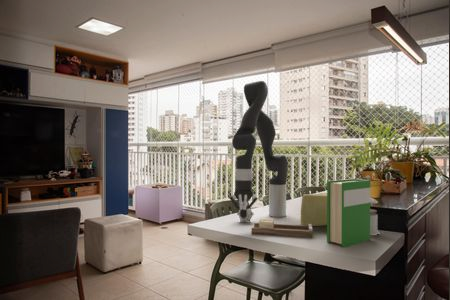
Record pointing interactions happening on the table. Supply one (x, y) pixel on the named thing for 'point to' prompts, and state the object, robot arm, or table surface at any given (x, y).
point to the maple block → (266, 223)
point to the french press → (373, 217)
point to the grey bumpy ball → (248, 217)
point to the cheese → (314, 209)
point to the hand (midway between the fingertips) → (243, 217)
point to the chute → (285, 230)
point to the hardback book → (348, 211)
